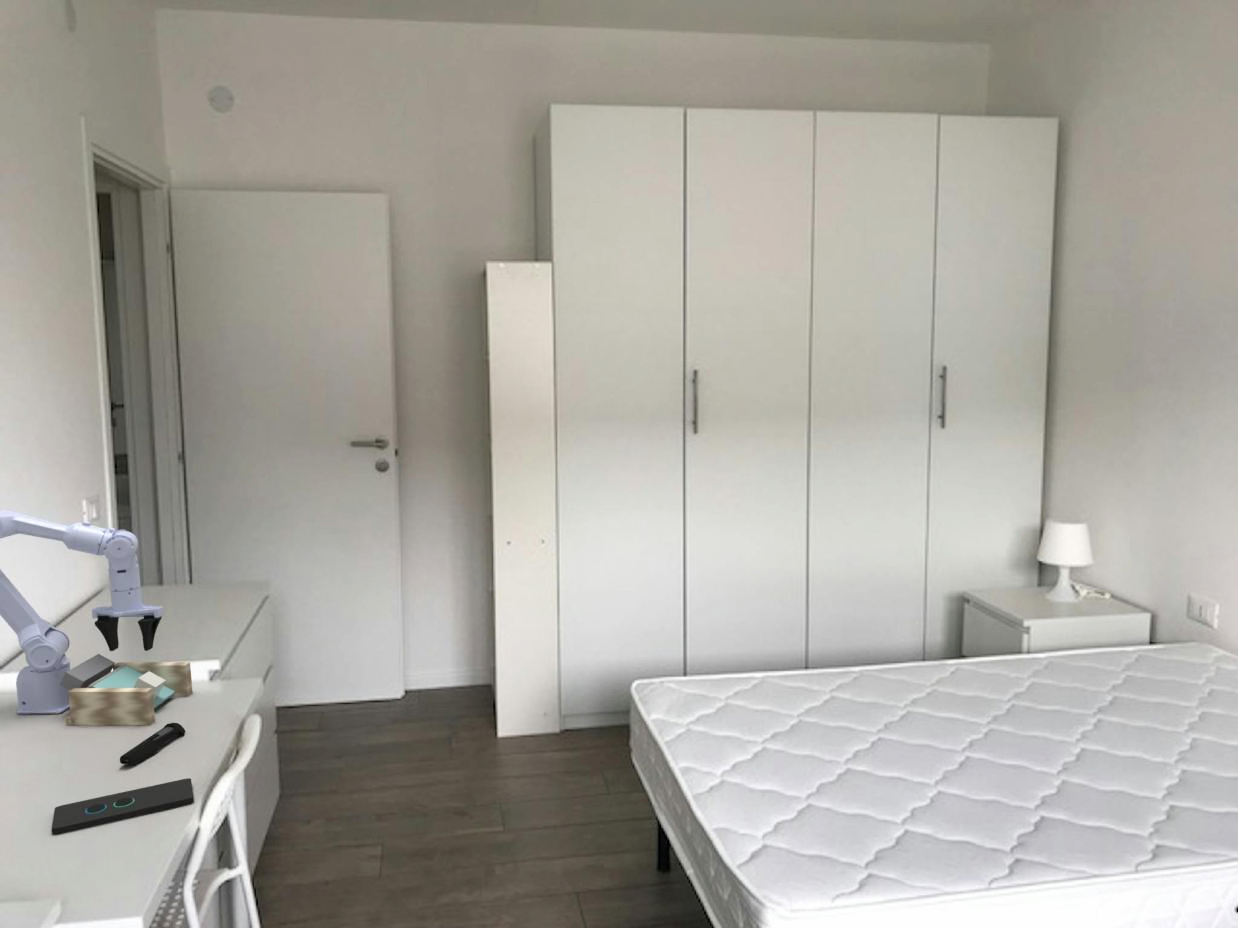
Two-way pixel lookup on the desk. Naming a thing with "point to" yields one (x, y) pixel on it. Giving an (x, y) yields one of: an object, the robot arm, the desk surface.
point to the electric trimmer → (152, 743)
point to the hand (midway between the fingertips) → (131, 649)
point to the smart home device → (122, 806)
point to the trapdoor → (107, 677)
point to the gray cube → (150, 683)
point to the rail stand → (127, 697)
